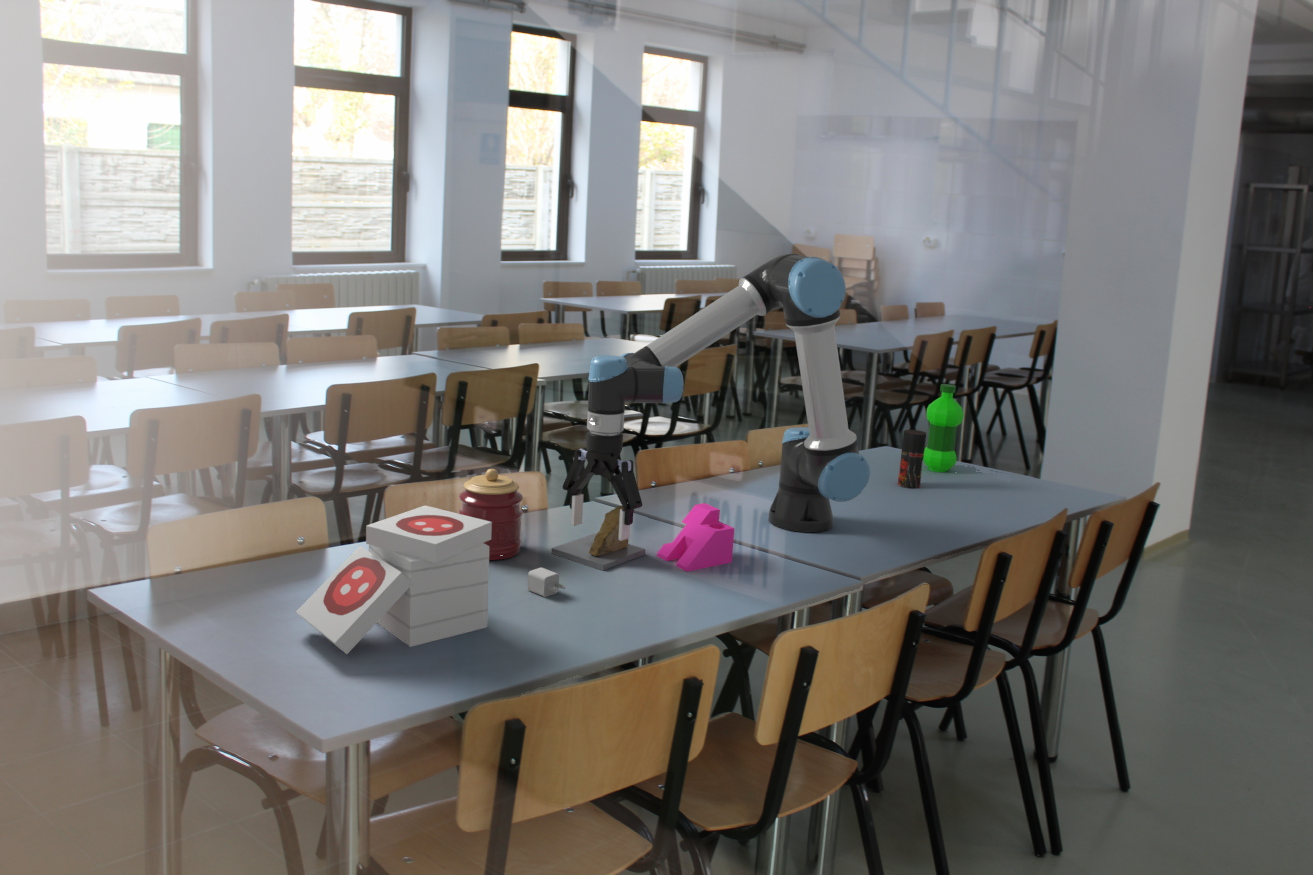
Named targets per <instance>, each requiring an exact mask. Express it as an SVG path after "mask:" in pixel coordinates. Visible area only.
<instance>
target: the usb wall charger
mask: <svg viewBox="0 0 1313 875" xmlns="http://www.w3.org/2000/svg"><path fill="white" fill-rule="evenodd" d="M560 589H562V590H566V585H564V584H562V583H560V574H559V573H557V572H554V571H552V570H549V569H547V568H545V567H538V568H535V569H532V570H529V571H528V574H527V590H528V591H529V592H532V593H534V594H535V595H539V596H541V597H543V598H547V597H549V596H553V595H555V594H558V593H559V590H560Z"/></svg>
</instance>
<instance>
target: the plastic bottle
mask: <svg viewBox="0 0 1313 875" xmlns="http://www.w3.org/2000/svg"><path fill="white" fill-rule="evenodd" d="M956 388H957V386H956V385H954V384H951V383H950V384H948V383H947V384H946V383H941V384H940V390H939V391H940V392H941V395H940V396H939V397H938V398H937V399H935V400H933V401H932V402H931V403H930V404H928V406H927V408H926V418H927V422H929V426H928V427H929V428H928V435H927V441H926V445H925V449H924V457H923V463H924V465H925V466H926V467H927V469H928V470H930V471H932V472H936V473H937V472H938V473H945V472H947V471H949V470H951V469H952V468H953V467H954V466H955V465H956V463H957V454H956V453H957V452H955V449H956V447H955V446H956V441H957V440H956V439H957V432H958V431H957V430H958V426H960V425H961V424H962V423H963V420H964V415H965V414H964V411H963V408H962V406H961V405H960V403H958V401H957V400H956V399H955V398H954V394H955V393H956V391H957V390H956Z"/></svg>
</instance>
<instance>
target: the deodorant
mask: <svg viewBox="0 0 1313 875" xmlns="http://www.w3.org/2000/svg"><path fill="white" fill-rule="evenodd" d="M902 435H903V436H902V446H901V453H900V463H899V471H898V478H897V479H898V480H897V485H898V486H899V487H901V488H906V489H912V490H913V489H919V488H920V487H921V481H922V480H921V479H922V472H923V465H924V464H923V463H924V460H923V457H924V449H925V448H926V442H927V441H926V440H927V432H925V431H922V430H917V429H905V430H903V434H902Z"/></svg>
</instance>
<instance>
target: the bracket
mask: <svg viewBox="0 0 1313 875" xmlns="http://www.w3.org/2000/svg"><path fill="white" fill-rule="evenodd" d="M720 513H721V509H720V508H717V507H715V506H713V505H710V504H708V503H706V502H704V503H698V504H697V503H696V504H694V506H693V507H692V508H691V510H690V511H689V512H688V513H687V515H686V516H685V517H684V518H683V520H682V521H681V523H683V524H684V527H683V528H682V529H681V531H680V532H679V533H678V534H677V535H676V537H675V538H674V539H673V541H672V542H668V543H663V545H662V546H661V547H660V548H659V550H658V551H657V552H656V557H658V558H660V559H661V560H663V561H666V562H669V561H670V562H671V561H675V560H678V561H677V562H676V564H675V565H676V567H677V568H679V569H680V570H683V571H685V572H691V571H697V570H701V569H705V568H711V567H716V566H721V565H727V564H732V562H733V554H734V552H733V550H734V539H735V527H732V526H731V525H728V524H727V523H724V522H722V521H720Z"/></svg>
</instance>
